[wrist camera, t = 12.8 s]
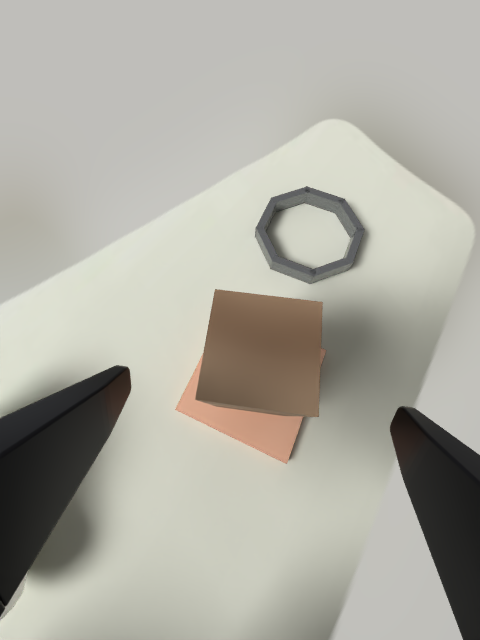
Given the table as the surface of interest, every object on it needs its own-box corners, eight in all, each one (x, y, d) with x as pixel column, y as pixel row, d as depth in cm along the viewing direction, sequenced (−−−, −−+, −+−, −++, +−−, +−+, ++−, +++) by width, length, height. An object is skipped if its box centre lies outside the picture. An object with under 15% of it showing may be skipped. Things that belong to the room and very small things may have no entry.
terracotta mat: (285, 462, 18) (286, 463, 17) (177, 409, 19) (175, 409, 18) (324, 352, 20) (326, 350, 19) (226, 311, 21) (225, 308, 21)
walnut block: (282, 415, 18) (318, 416, 9) (216, 406, 18) (195, 399, 10) (287, 351, 19) (322, 302, 11) (226, 343, 20) (215, 289, 11)
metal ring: (338, 295, 21) (344, 288, 20) (243, 258, 23) (243, 250, 22) (366, 217, 24) (372, 207, 23) (279, 188, 25) (281, 177, 24)
